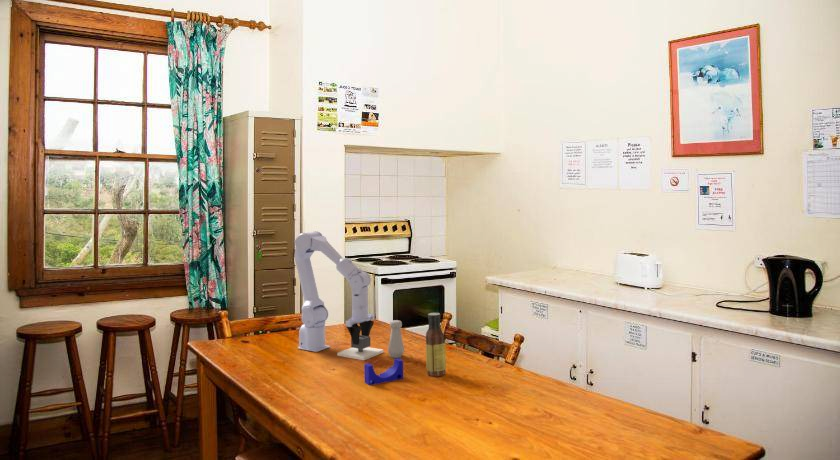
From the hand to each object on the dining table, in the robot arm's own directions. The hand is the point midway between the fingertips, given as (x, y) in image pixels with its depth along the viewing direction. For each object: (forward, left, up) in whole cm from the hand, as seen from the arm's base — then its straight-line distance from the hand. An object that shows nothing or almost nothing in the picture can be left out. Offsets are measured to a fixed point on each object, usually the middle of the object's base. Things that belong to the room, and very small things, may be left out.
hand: (360, 342), depth 208 cm
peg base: (0, 0, -4) cm, 4 cm away
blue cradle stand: (+23, -19, -5) cm, 31 cm away
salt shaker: (+13, +4, -4) cm, 14 cm away
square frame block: (0, 0, -2) cm, 2 cm away
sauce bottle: (+35, -6, -4) cm, 36 cm away
